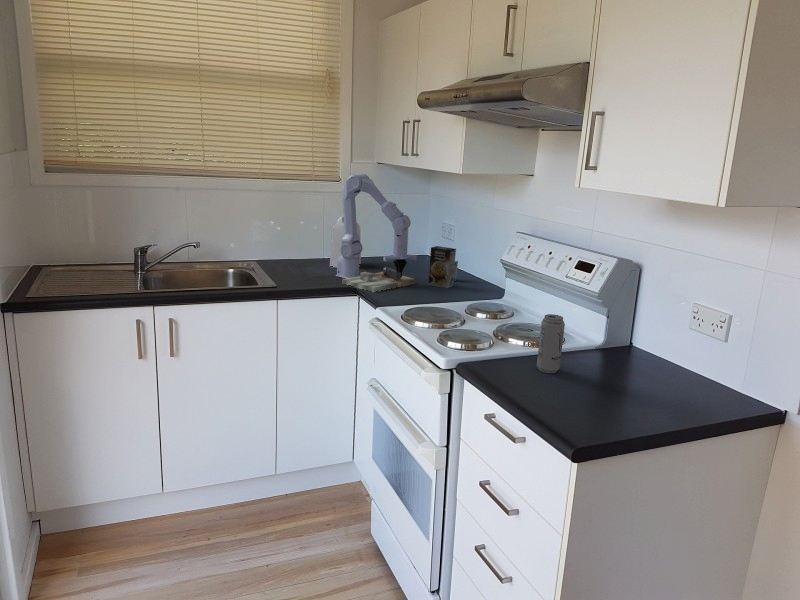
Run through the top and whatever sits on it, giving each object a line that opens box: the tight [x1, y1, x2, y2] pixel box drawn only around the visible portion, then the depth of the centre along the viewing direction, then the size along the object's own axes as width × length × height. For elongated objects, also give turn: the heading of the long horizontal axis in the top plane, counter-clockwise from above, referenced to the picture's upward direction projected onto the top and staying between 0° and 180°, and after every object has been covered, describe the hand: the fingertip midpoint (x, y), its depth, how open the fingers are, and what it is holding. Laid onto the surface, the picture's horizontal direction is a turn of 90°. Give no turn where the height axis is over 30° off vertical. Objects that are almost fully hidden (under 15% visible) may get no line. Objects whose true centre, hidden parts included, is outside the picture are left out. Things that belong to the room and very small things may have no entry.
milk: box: [329, 215, 362, 268], centre depth 283 cm, size 12×12×26 cm
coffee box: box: [428, 245, 457, 289], centre depth 253 cm, size 9×6×16 cm
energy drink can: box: [536, 313, 566, 374], centre depth 162 cm, size 6×6×15 cm
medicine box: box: [453, 260, 459, 283], centre depth 265 cm, size 8×4×9 cm, turn 76°
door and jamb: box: [341, 271, 417, 293], centre depth 252 cm, size 18×26×5 cm
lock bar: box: [382, 266, 401, 280], centre depth 254 cm, size 12×3×3 cm, turn 29°
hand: (399, 277), depth 253 cm, fingers closed
